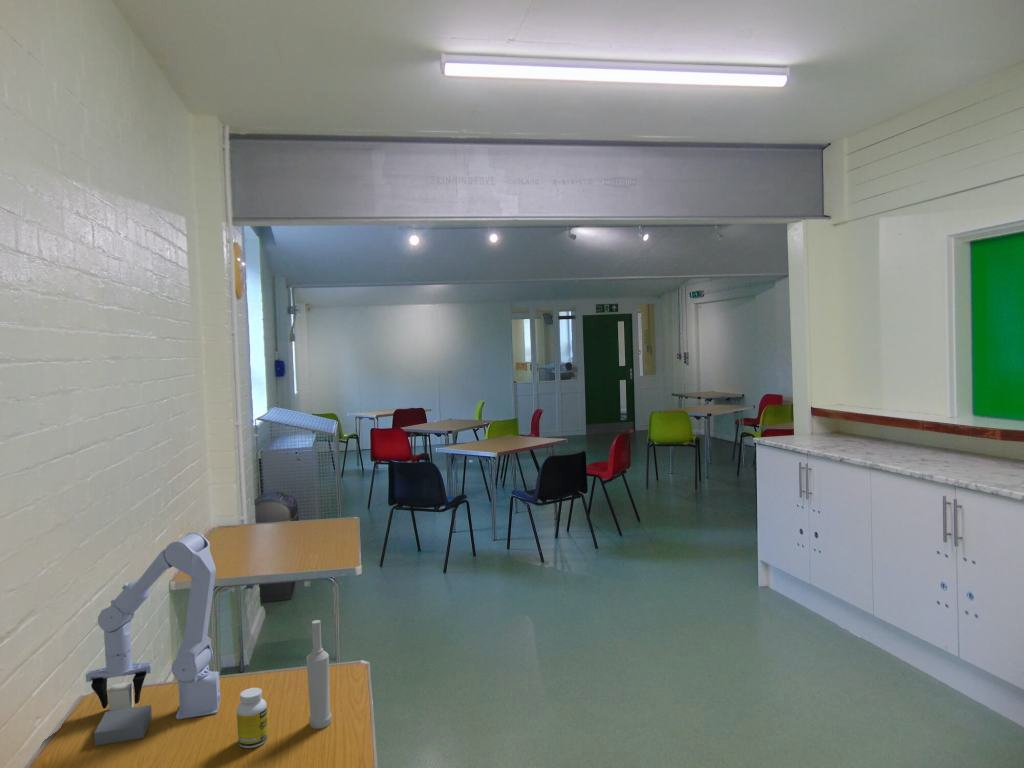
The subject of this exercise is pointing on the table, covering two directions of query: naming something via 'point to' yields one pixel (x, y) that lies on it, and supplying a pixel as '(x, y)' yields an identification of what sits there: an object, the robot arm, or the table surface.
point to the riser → (123, 725)
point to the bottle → (318, 681)
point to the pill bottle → (252, 718)
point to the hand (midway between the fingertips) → (121, 704)
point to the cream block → (121, 696)
